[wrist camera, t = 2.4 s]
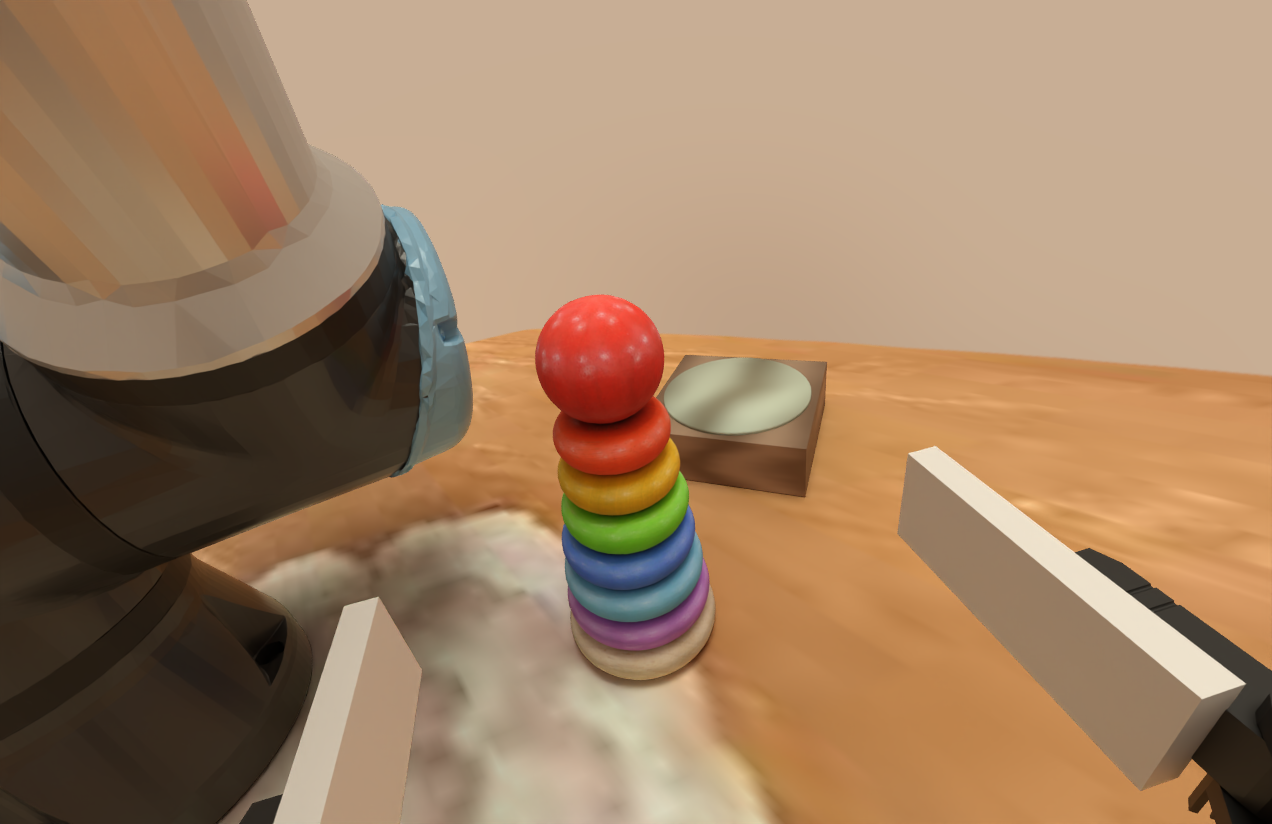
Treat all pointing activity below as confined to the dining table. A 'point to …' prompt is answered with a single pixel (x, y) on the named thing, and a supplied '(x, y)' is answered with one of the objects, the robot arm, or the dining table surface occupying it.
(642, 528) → the stacking toy
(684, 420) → the walnut plinth
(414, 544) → the dining table surface
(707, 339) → the dining table surface
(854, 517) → the dining table surface
